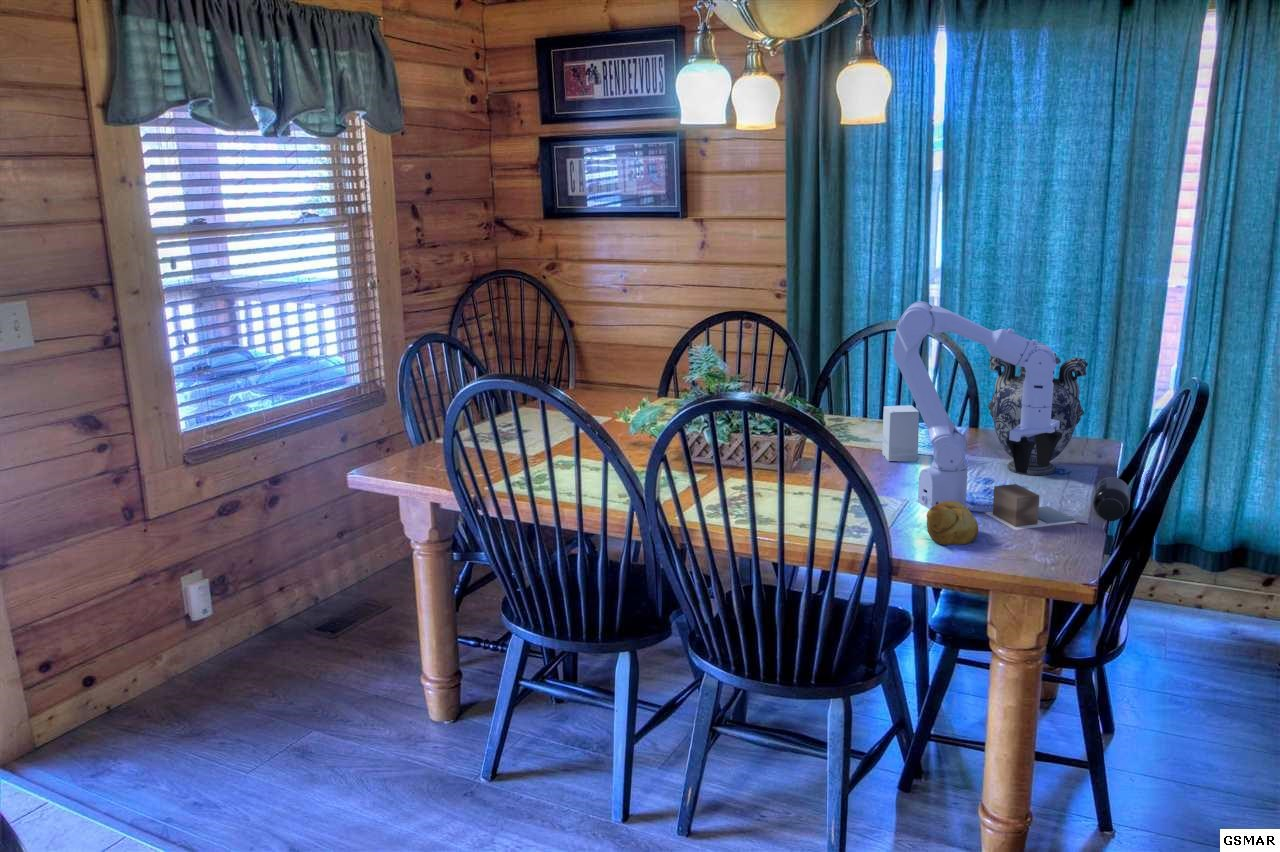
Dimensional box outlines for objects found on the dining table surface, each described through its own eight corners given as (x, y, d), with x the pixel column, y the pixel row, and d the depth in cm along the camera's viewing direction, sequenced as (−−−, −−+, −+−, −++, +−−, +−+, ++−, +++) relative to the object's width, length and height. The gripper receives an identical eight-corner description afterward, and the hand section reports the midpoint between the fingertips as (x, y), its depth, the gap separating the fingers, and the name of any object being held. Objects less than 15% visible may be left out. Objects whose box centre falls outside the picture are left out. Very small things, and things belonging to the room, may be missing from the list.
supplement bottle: (1097, 473, 215) (1095, 490, 205) (1132, 479, 213) (1133, 496, 202) (1091, 504, 217) (1089, 522, 207) (1126, 510, 215) (1126, 529, 204)
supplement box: (918, 461, 253) (920, 411, 250) (887, 462, 253) (889, 412, 250) (911, 453, 260) (912, 404, 257) (881, 454, 260) (883, 405, 257)
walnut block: (1015, 526, 205) (1017, 498, 203) (992, 514, 212) (994, 486, 211) (1037, 524, 206) (1039, 495, 204) (1014, 511, 213) (1015, 483, 212)
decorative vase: (1081, 462, 248) (1089, 347, 240) (1078, 485, 231) (1086, 363, 224) (988, 454, 256) (993, 343, 249) (979, 476, 240) (984, 358, 233)
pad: (1047, 523, 206) (1047, 522, 206) (1021, 510, 214) (1022, 508, 214) (1073, 520, 207) (1073, 519, 207) (1047, 507, 215) (1047, 505, 215)
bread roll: (925, 525, 209) (927, 487, 207) (975, 528, 206) (977, 490, 204) (925, 548, 197) (926, 508, 195) (978, 551, 194) (980, 511, 192)
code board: (1014, 532, 203) (1015, 529, 203) (984, 515, 213) (984, 512, 213) (1077, 525, 206) (1077, 522, 206) (1043, 508, 217) (1043, 505, 216)
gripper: (1033, 413, 201) (1028, 480, 204) (1075, 402, 209) (1069, 466, 213) (1002, 407, 207) (997, 472, 210) (1044, 396, 215) (1039, 459, 218)
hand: (1032, 469), depth 212 cm, fingers open, 7 cm apart
